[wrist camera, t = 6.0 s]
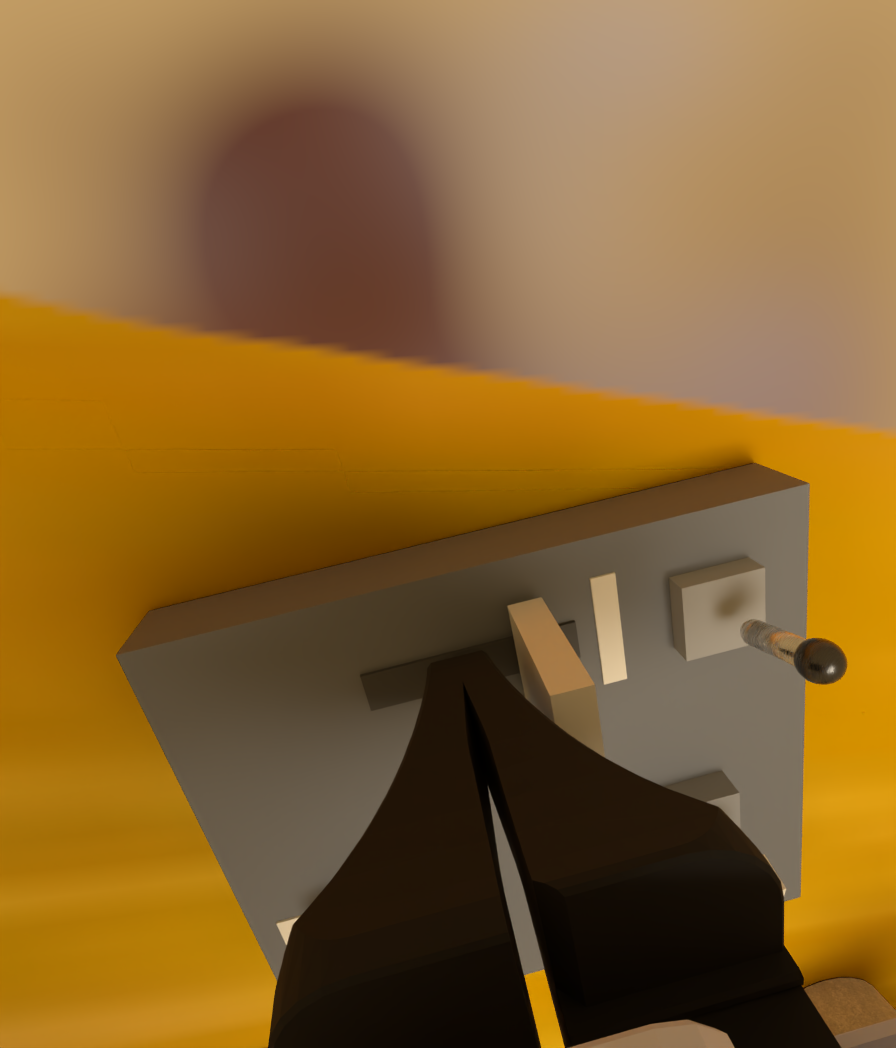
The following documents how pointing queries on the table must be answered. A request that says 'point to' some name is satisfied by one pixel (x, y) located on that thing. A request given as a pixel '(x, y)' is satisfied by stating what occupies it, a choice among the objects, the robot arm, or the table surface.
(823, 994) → the house plant
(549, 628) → the tan flat upright block
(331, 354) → the table surface
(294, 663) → the switch panel
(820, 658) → the steel toggle lever
